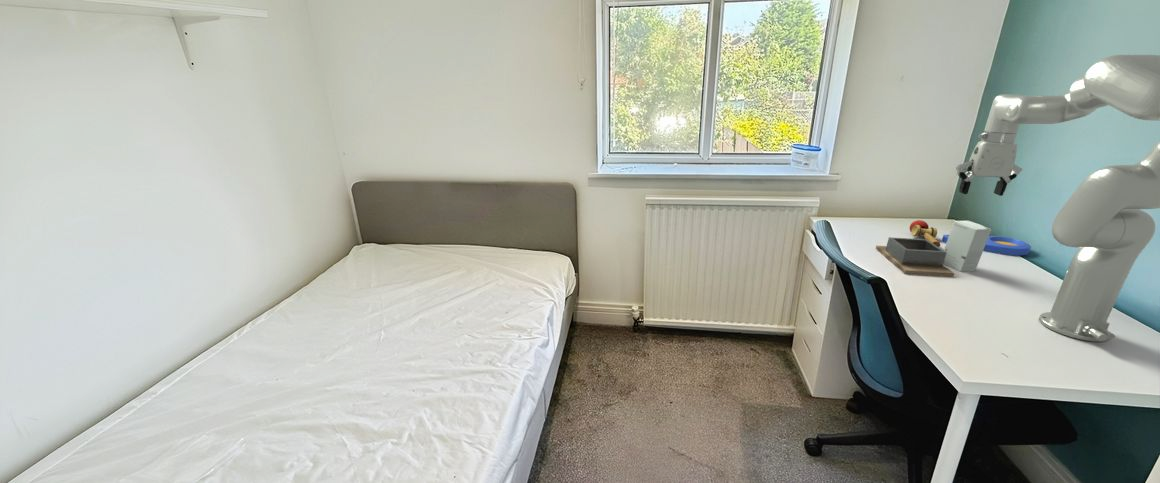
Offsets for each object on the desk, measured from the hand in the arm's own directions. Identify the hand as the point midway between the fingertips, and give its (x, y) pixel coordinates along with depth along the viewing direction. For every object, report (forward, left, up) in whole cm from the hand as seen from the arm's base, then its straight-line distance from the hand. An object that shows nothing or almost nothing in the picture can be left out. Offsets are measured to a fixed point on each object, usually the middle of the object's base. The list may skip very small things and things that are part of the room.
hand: (980, 193), depth 145 cm
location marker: (+22, -20, -25) cm, 39 cm away
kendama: (+26, -2, -25) cm, 36 cm away
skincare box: (0, 0, -25) cm, 25 cm away
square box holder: (+2, +13, -25) cm, 28 cm away
